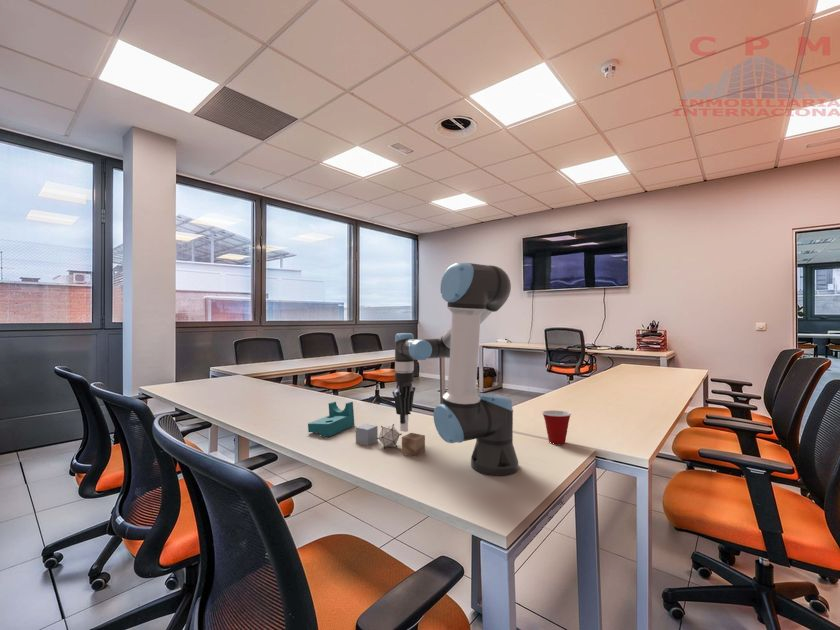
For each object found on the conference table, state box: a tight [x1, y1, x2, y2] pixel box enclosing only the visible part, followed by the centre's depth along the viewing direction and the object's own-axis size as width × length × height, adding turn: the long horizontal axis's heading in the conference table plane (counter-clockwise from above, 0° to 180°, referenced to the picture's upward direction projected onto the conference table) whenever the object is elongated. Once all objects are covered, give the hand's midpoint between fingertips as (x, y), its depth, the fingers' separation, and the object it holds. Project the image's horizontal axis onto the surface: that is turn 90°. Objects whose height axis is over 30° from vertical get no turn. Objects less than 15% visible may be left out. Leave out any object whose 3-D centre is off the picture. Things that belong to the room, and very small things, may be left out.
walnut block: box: [401, 432, 426, 458], centre depth 130 cm, size 6×6×6 cm
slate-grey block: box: [355, 423, 379, 446], centre depth 142 cm, size 6×6×6 cm
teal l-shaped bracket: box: [307, 401, 355, 437], centre depth 158 cm, size 18×11×10 cm, turn 157°
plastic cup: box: [541, 409, 572, 445], centre depth 141 cm, size 11×11×12 cm
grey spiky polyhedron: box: [376, 423, 402, 450], centre depth 136 cm, size 9×8×10 cm
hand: (404, 430), depth 145 cm, fingers closed
